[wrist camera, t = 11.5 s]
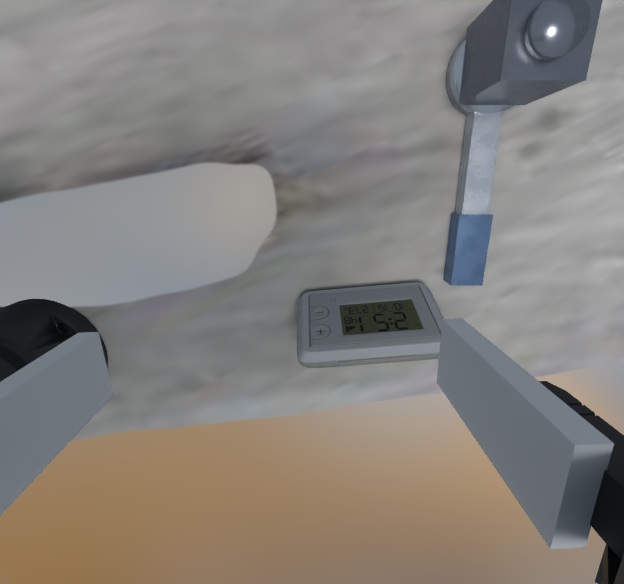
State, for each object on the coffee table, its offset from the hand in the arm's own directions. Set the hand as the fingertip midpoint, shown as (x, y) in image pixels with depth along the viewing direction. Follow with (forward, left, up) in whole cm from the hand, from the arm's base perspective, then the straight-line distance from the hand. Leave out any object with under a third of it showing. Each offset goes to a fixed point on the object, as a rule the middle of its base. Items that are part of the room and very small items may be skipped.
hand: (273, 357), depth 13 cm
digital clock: (+8, -8, -29) cm, 31 cm away
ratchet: (+19, +9, -28) cm, 35 cm away
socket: (+19, +17, -26) cm, 37 cm away
